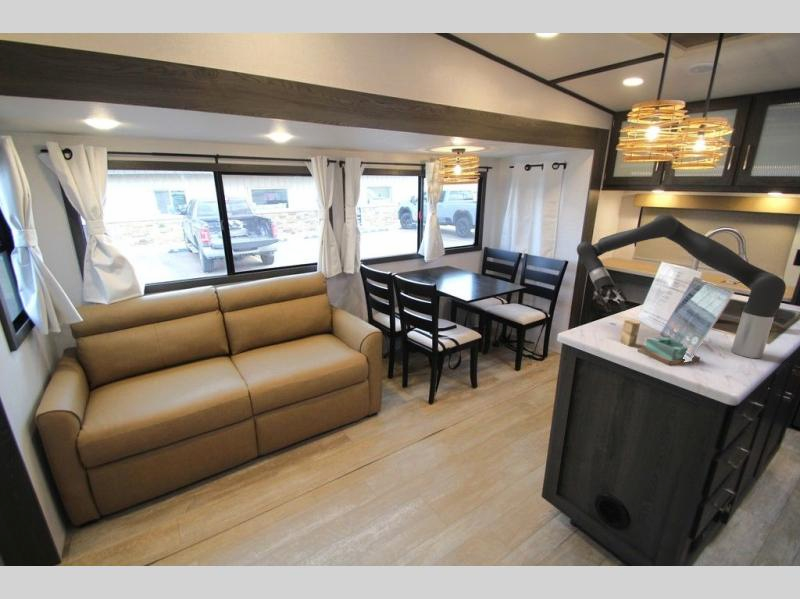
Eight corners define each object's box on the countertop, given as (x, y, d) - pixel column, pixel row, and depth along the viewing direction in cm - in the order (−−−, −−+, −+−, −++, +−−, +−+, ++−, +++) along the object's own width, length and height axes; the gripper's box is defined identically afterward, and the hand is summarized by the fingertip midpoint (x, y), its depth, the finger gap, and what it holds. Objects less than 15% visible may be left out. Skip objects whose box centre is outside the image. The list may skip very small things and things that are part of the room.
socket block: (667, 347, 154) (670, 335, 153) (699, 360, 142) (702, 347, 141) (637, 351, 150) (640, 338, 148) (668, 365, 138) (671, 351, 136)
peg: (627, 341, 160) (631, 319, 157) (635, 345, 156) (640, 323, 153) (620, 342, 159) (624, 320, 156) (628, 346, 155) (632, 323, 152)
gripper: (594, 275, 164) (610, 307, 156) (619, 274, 168) (636, 305, 160) (583, 284, 170) (598, 315, 163) (608, 283, 174) (623, 313, 167)
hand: (617, 310), depth 162 cm, fingers open, 8 cm apart
